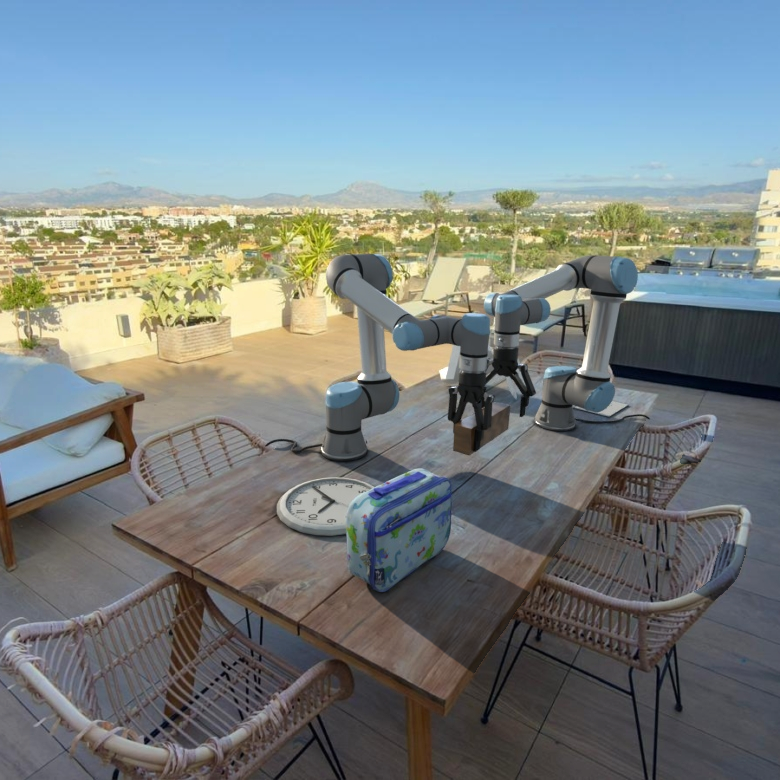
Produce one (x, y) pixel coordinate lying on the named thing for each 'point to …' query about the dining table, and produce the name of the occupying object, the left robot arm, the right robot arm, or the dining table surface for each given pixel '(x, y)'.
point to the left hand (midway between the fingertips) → (467, 447)
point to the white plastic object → (452, 371)
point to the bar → (498, 425)
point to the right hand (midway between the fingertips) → (502, 411)
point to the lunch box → (398, 527)
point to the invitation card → (608, 409)
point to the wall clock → (320, 505)
